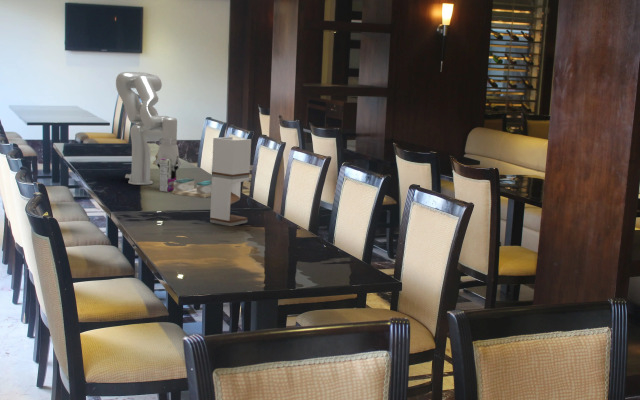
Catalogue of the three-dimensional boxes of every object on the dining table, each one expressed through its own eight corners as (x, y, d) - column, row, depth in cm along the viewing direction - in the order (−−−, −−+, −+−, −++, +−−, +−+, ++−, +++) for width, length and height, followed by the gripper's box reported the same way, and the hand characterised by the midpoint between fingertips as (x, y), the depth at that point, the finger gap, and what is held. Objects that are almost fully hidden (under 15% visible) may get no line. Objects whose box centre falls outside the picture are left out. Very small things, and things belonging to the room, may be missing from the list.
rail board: (172, 193, 395) (172, 180, 394) (185, 190, 409) (185, 177, 408) (205, 197, 390) (205, 184, 389) (217, 194, 403) (218, 181, 402)
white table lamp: (230, 226, 326) (234, 140, 320) (210, 222, 331) (213, 137, 326) (247, 222, 336) (251, 139, 330) (227, 218, 341) (230, 136, 335)
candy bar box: (167, 188, 411) (168, 156, 408) (176, 189, 410) (177, 157, 407) (158, 191, 400) (159, 158, 397) (167, 192, 399) (168, 159, 396)
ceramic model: (150, 163, 507) (151, 147, 505) (167, 163, 512) (168, 147, 510) (157, 166, 494) (157, 150, 493) (174, 166, 500) (175, 150, 498)
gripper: (150, 141, 400) (149, 177, 403) (180, 144, 395) (179, 180, 398) (157, 140, 407) (156, 175, 410) (187, 143, 402) (186, 178, 405)
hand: (167, 177), depth 404 cm, fingers closed on candy bar box, 5 cm apart
